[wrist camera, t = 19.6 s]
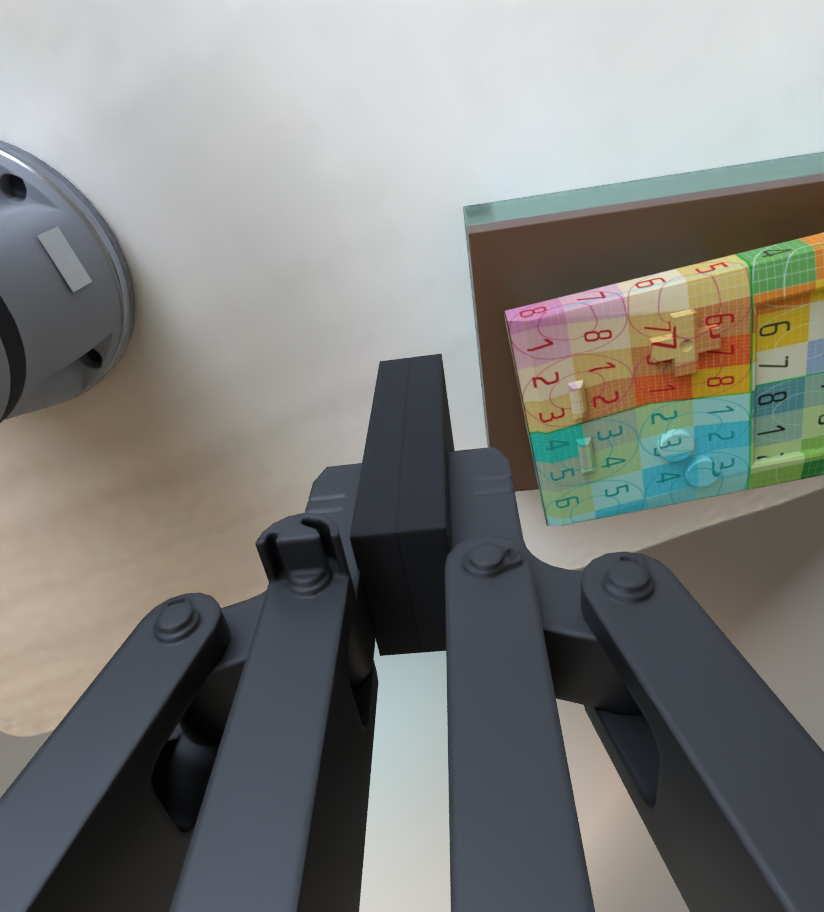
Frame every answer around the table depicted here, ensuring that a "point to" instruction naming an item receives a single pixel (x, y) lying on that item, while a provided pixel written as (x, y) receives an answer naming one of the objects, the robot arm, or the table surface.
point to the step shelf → (616, 254)
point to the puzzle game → (675, 383)
